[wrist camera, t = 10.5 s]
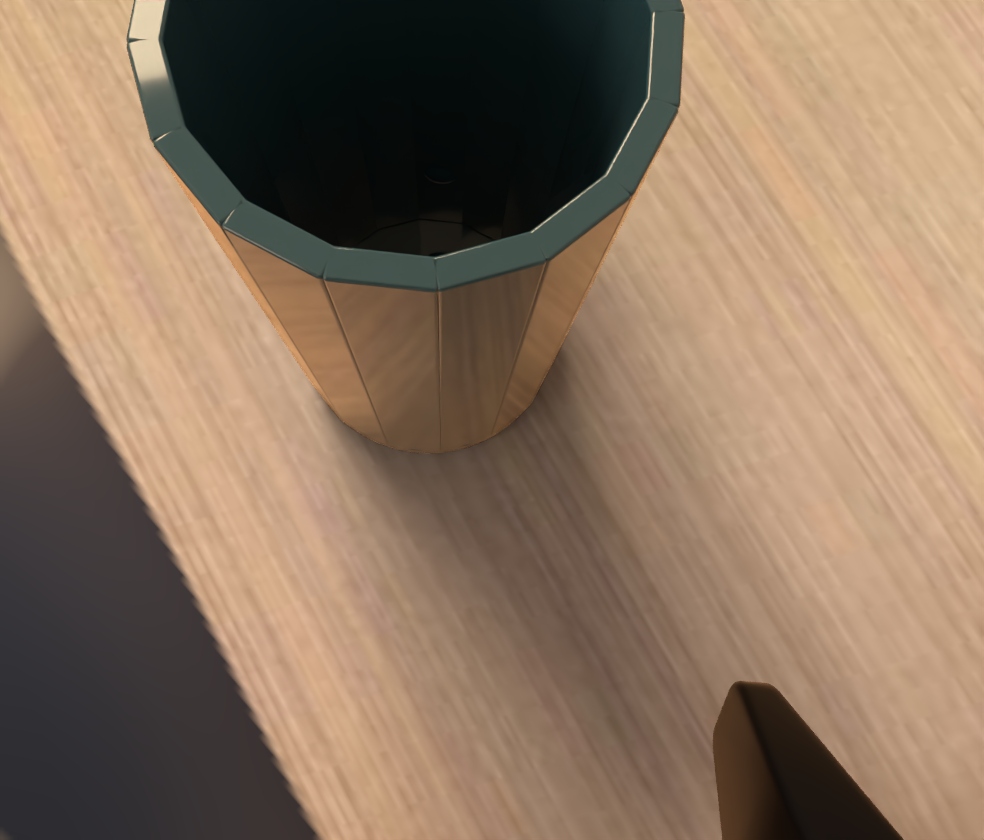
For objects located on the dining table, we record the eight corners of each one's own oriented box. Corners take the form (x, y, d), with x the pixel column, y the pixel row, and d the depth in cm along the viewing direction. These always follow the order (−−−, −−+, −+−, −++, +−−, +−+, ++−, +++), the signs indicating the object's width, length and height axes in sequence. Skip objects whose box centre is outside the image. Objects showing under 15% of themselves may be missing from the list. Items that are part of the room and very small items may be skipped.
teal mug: (542, 465, 23) (669, 317, 10) (287, 440, 22) (81, 253, 10) (571, 115, 25) (707, -382, 12) (337, 88, 24) (222, -449, 12)
